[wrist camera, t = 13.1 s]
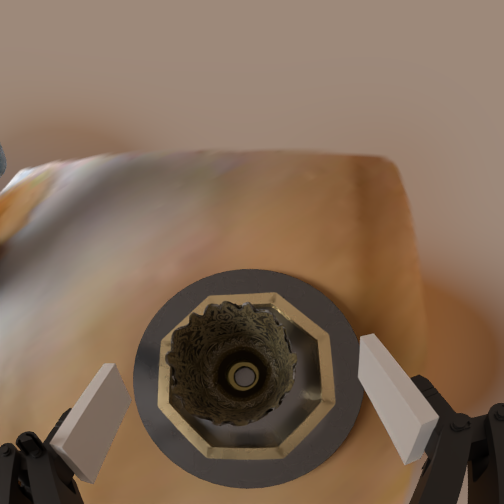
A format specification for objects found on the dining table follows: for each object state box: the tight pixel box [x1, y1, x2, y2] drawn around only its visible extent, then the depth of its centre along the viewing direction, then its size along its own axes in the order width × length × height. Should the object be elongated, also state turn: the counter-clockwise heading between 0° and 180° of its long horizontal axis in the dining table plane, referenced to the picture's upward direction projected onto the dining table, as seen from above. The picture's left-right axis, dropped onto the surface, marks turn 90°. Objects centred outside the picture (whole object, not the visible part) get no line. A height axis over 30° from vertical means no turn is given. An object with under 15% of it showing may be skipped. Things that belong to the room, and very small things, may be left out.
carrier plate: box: [133, 269, 364, 489], centre depth 22 cm, size 20×20×2 cm
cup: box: [165, 301, 297, 426], centre depth 18 cm, size 8×7×8 cm
